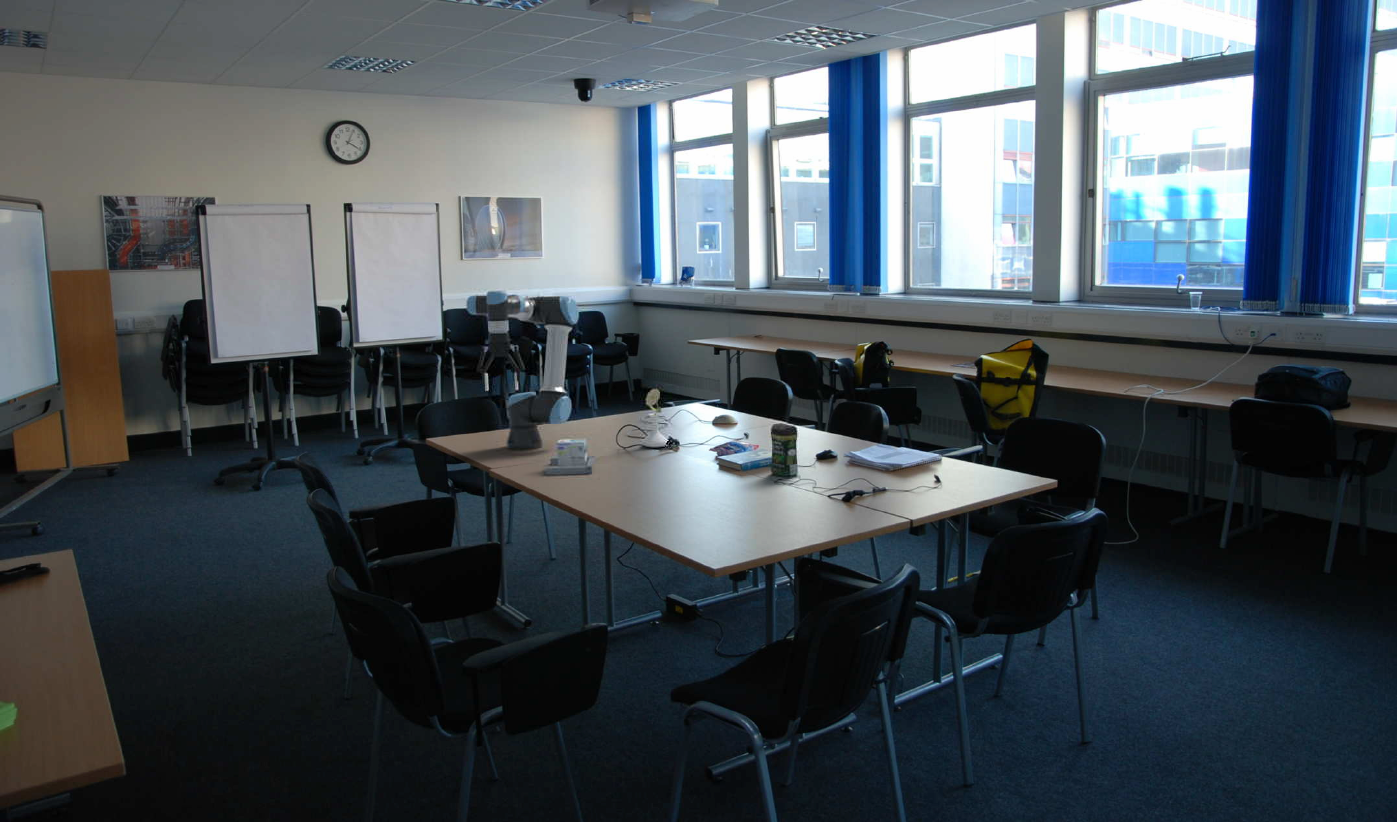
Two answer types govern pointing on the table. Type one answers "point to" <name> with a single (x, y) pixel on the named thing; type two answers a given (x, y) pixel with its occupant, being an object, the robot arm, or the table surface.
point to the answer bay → (569, 470)
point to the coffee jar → (784, 450)
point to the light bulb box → (572, 452)
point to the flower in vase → (654, 422)
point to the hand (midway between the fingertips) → (501, 390)
